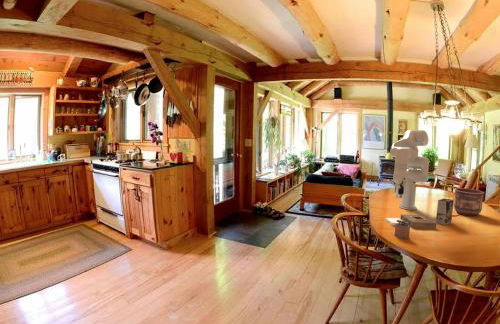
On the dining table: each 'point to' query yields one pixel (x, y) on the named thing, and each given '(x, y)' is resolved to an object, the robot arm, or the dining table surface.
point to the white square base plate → (392, 221)
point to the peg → (397, 191)
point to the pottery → (468, 201)
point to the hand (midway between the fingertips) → (399, 193)
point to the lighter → (402, 229)
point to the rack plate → (418, 221)
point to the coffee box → (444, 211)
